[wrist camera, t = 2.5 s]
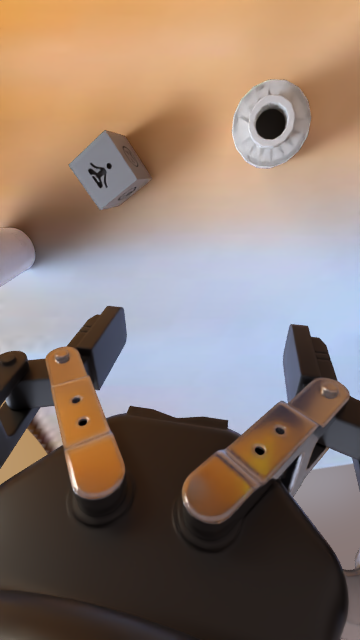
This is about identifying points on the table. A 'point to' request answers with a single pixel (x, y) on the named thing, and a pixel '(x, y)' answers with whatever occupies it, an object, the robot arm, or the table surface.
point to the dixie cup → (14, 253)
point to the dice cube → (110, 170)
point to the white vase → (271, 123)
